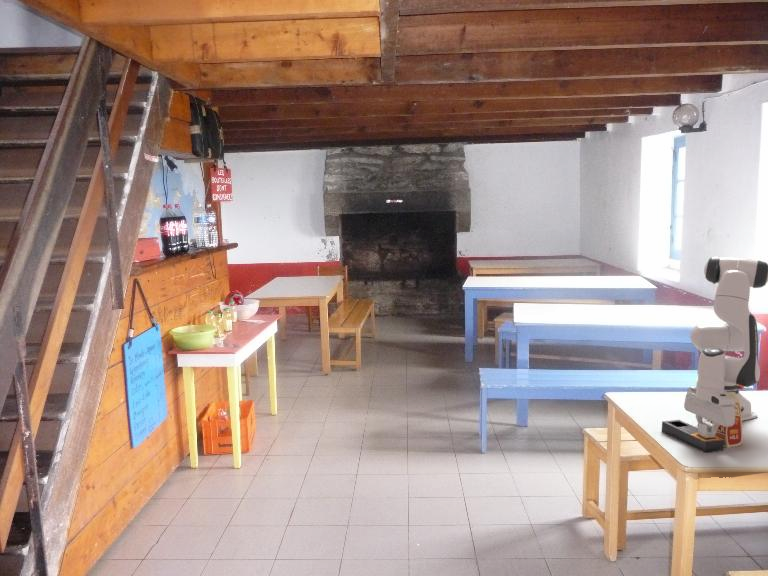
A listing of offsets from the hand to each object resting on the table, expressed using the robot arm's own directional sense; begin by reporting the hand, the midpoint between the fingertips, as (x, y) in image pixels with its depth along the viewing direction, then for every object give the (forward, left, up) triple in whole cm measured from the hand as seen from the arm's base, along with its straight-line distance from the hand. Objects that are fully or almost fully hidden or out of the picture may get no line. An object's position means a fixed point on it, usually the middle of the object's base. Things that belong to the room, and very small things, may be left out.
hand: (706, 430), depth 219 cm
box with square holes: (0, -7, -7) cm, 10 cm away
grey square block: (0, 0, -6) cm, 6 cm away
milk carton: (-11, -3, -7) cm, 14 cm away
